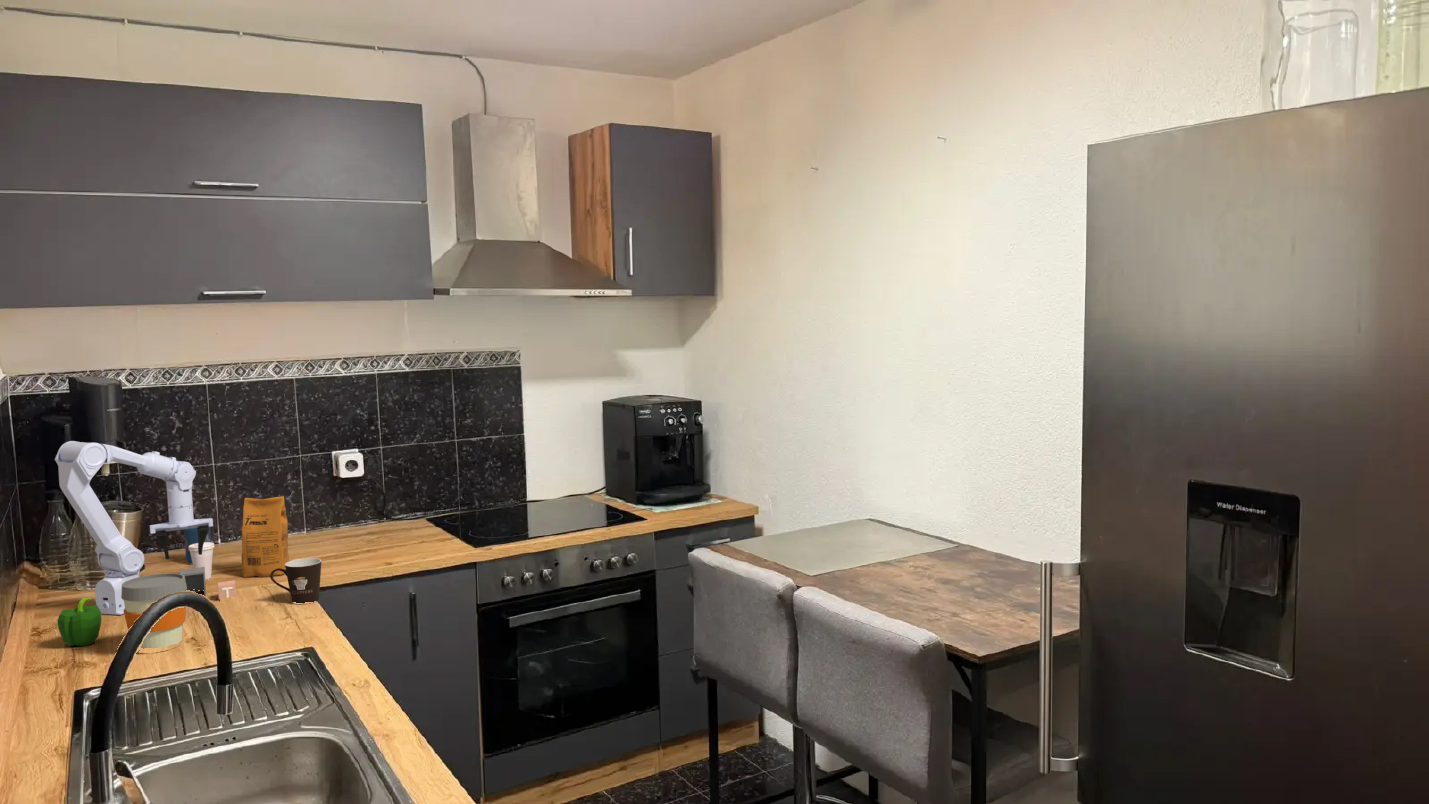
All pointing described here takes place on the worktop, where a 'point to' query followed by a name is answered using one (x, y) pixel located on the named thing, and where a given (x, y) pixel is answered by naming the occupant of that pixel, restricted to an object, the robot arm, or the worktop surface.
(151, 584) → the reusable coffee cup
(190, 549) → the smoothie
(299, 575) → the coffee mug
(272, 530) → the coffee package
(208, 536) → the soda can
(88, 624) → the bell pepper
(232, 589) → the letter cube
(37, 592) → the worktop surface
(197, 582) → the grey hollow cube
